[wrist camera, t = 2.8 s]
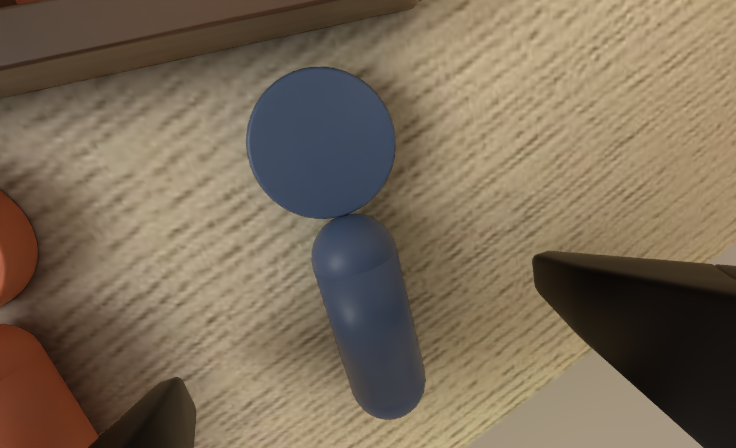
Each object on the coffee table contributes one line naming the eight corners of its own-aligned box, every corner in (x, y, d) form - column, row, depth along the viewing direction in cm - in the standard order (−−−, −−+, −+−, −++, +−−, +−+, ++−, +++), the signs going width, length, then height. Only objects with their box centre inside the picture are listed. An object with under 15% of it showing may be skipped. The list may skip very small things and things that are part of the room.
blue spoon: (434, 363, 11) (465, 412, 9) (334, 400, 11) (345, 459, 9) (368, 57, 8) (392, 40, 7) (229, 90, 8) (213, 81, 6)
